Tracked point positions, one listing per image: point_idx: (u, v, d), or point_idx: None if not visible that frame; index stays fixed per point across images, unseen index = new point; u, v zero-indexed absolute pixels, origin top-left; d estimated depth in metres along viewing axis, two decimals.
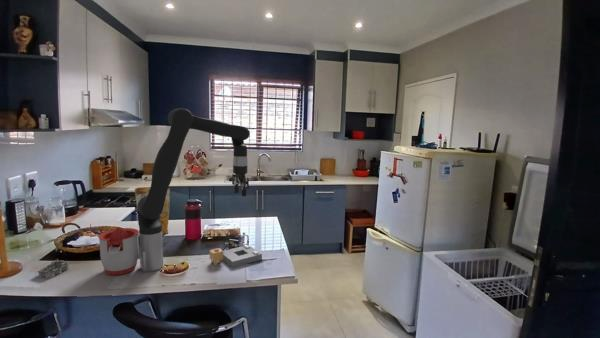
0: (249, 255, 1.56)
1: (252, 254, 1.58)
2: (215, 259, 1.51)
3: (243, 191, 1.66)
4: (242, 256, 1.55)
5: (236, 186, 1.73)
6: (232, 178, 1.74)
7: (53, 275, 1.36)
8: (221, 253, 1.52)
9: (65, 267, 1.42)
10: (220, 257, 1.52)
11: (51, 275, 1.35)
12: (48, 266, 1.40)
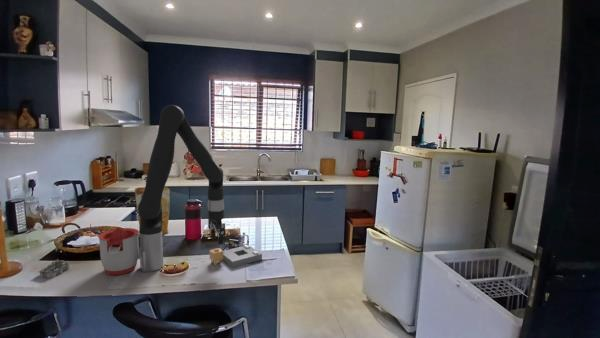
0: (249, 255, 1.56)
1: (252, 254, 1.58)
2: (215, 259, 1.51)
3: (219, 239, 1.48)
4: (242, 256, 1.55)
5: (212, 231, 1.55)
6: (208, 222, 1.56)
7: (55, 275, 1.36)
8: (221, 253, 1.52)
9: (66, 267, 1.42)
10: (220, 257, 1.52)
11: (53, 275, 1.35)
12: (49, 266, 1.40)
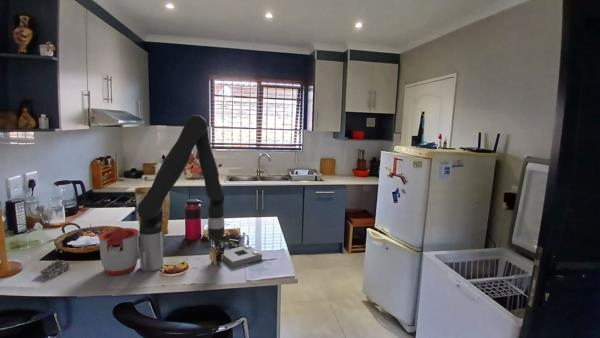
0: (249, 255, 1.56)
1: (252, 254, 1.58)
2: (215, 259, 1.51)
3: (217, 257, 1.50)
4: (242, 256, 1.55)
5: None
6: (209, 241, 1.56)
7: (56, 275, 1.36)
8: None
9: (67, 267, 1.42)
10: None
11: (54, 275, 1.36)
12: (49, 266, 1.40)
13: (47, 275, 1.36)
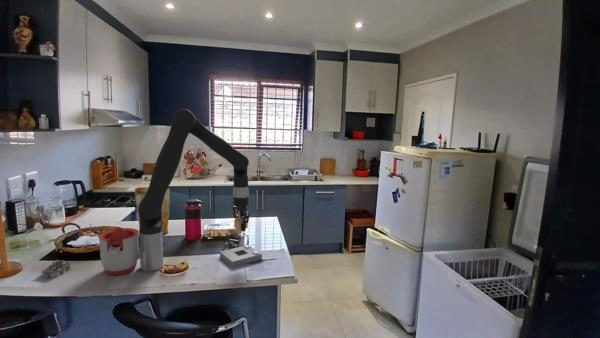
0: (249, 255, 1.56)
1: (252, 254, 1.58)
2: (240, 228, 1.55)
3: (242, 225, 1.54)
4: (242, 256, 1.55)
5: None
6: (233, 211, 1.60)
7: (58, 274, 1.36)
8: None
9: (68, 266, 1.42)
10: None
11: (56, 274, 1.36)
12: (50, 266, 1.40)
13: (49, 275, 1.36)
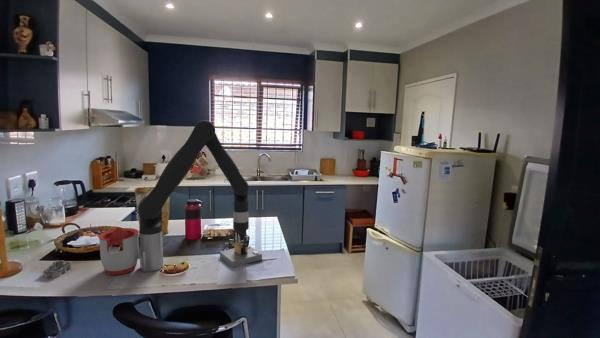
0: (249, 255, 1.56)
1: (252, 254, 1.58)
2: (240, 252, 1.56)
3: (242, 249, 1.56)
4: (242, 256, 1.55)
5: None
6: (233, 235, 1.62)
7: (60, 274, 1.37)
8: None
9: (68, 266, 1.43)
10: None
11: (58, 274, 1.36)
12: (50, 266, 1.40)
13: (50, 275, 1.36)
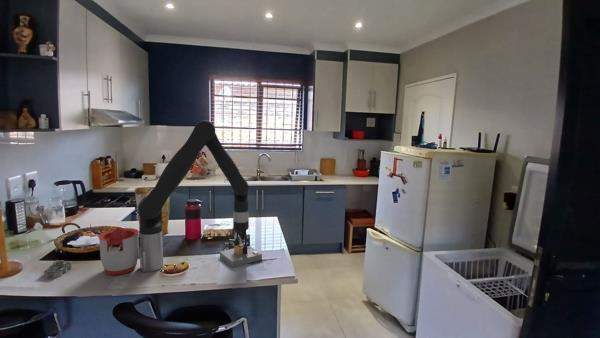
0: (249, 255, 1.56)
1: (252, 254, 1.58)
2: (240, 254, 1.57)
3: (244, 249, 1.54)
4: (242, 256, 1.55)
5: (236, 241, 1.62)
6: (232, 232, 1.62)
7: (61, 274, 1.37)
8: None
9: (69, 266, 1.43)
10: None
11: (59, 274, 1.36)
12: (51, 267, 1.40)
13: (51, 275, 1.36)
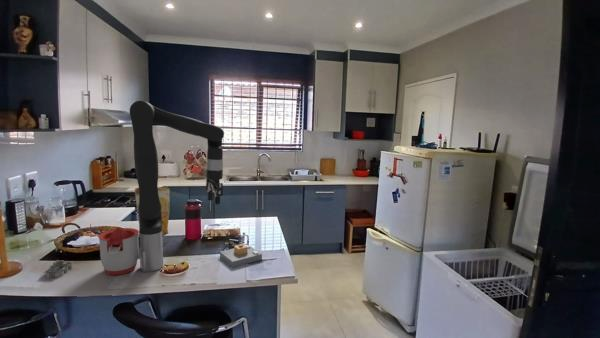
0: (249, 255, 1.56)
1: (252, 254, 1.58)
2: (240, 254, 1.57)
3: (216, 199, 1.47)
4: (242, 256, 1.55)
5: (210, 192, 1.55)
6: (206, 183, 1.55)
7: (63, 274, 1.37)
8: (245, 249, 1.58)
9: (70, 266, 1.43)
10: (244, 253, 1.58)
11: (61, 274, 1.37)
12: (51, 267, 1.40)
13: (52, 275, 1.36)
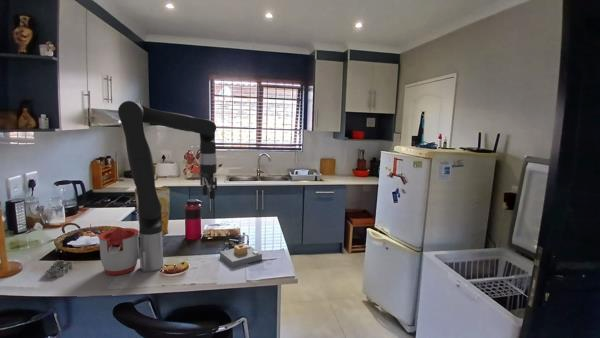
0: (249, 255, 1.56)
1: (252, 254, 1.58)
2: (240, 254, 1.57)
3: (211, 193, 1.46)
4: (242, 256, 1.55)
5: (204, 187, 1.54)
6: (200, 178, 1.54)
7: (64, 273, 1.37)
8: (245, 249, 1.58)
9: (70, 266, 1.43)
10: (244, 253, 1.58)
11: (62, 273, 1.37)
12: (52, 267, 1.40)
13: (53, 275, 1.36)
